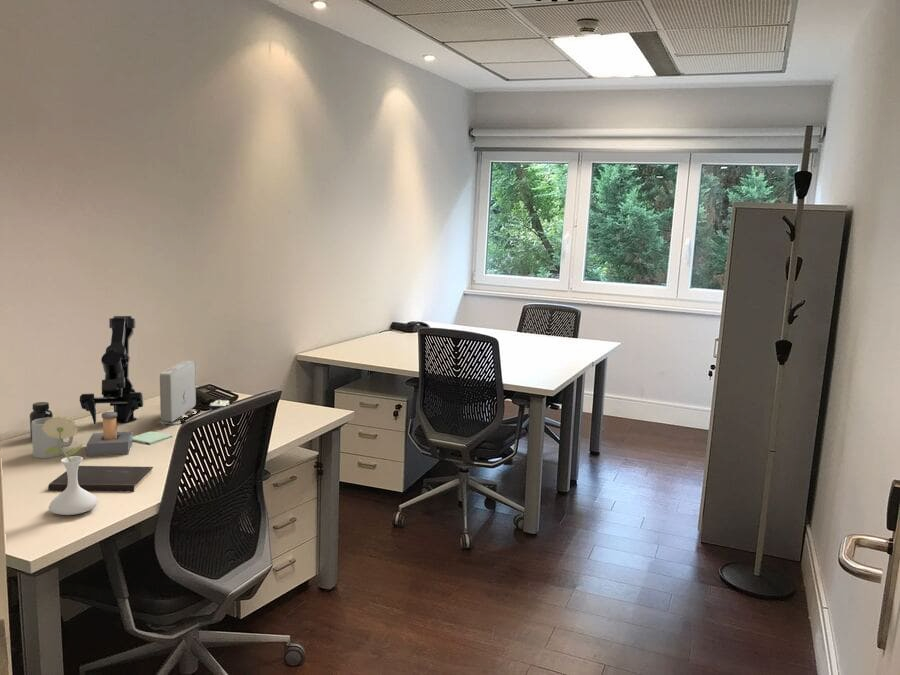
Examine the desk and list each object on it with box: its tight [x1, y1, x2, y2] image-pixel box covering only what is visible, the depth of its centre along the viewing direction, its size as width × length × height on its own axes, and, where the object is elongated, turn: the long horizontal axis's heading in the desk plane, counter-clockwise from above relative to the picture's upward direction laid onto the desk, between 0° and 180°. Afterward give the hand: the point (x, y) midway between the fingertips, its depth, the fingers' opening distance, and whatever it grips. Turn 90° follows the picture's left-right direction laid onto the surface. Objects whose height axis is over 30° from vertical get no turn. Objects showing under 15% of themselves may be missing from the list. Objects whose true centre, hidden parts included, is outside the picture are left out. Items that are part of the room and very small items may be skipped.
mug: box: [31, 416, 74, 459], centre depth 229 cm, size 12×8×11 cm
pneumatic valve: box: [208, 399, 230, 411], centre depth 259 cm, size 6×12×12 cm, turn 3°
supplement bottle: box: [29, 401, 54, 440], centre depth 245 cm, size 7×7×12 cm
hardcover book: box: [47, 465, 154, 493], centre depth 209 cm, size 16×23×2 cm
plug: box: [101, 411, 118, 440], centre depth 236 cm, size 5×5×12 cm
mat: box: [133, 430, 173, 445], centre depth 250 cm, size 10×10×1 cm
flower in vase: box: [42, 416, 99, 516], centre depth 186 cm, size 13×11×25 cm
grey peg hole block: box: [86, 431, 134, 457], centre depth 236 cm, size 12×12×4 cm
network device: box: [159, 360, 198, 426], centre depth 275 cm, size 26×9×20 cm, turn 179°
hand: (110, 422), depth 236 cm, fingers open, 9 cm apart
